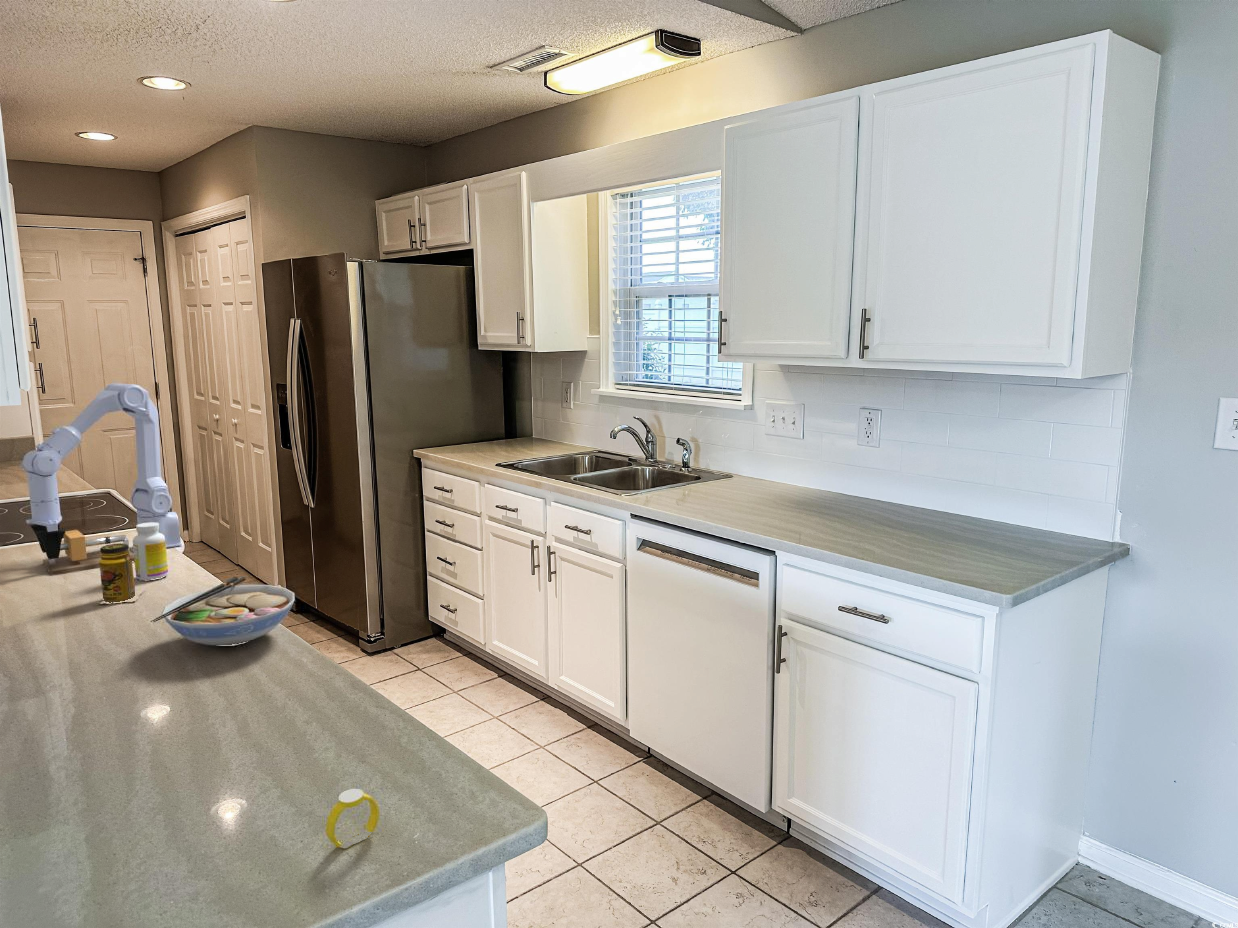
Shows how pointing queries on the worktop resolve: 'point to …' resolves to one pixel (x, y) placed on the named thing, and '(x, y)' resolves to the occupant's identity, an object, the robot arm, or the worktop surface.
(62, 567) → the walnut board
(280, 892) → the worktop surface
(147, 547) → the supplement bottle
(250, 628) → the ramen bowl
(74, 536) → the collar
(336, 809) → the watch
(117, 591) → the condiment
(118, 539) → the metal rod
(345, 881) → the worktop surface
